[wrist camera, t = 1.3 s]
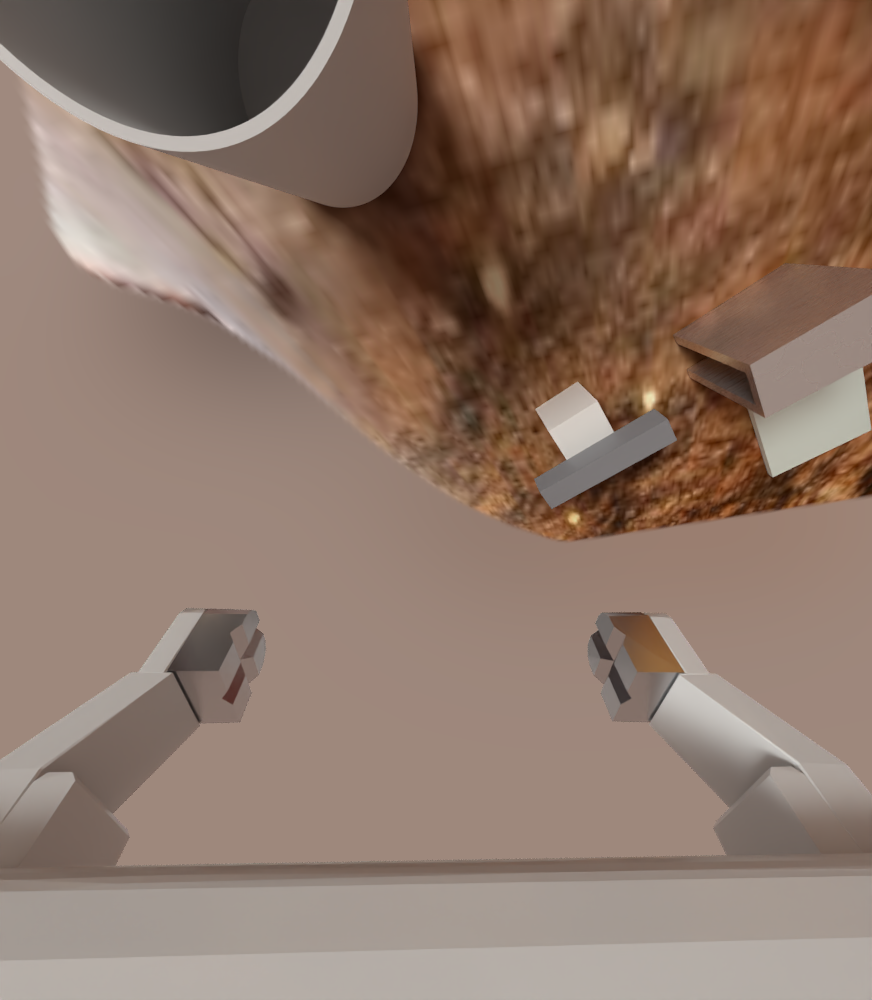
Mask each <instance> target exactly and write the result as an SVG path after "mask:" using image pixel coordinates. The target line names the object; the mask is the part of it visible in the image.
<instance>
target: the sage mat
mask: <svg viewBox="0 0 872 1000" xmlns="http://www.w3.org/2000/svg"><path fill="white" fill-rule="evenodd" d="M748 412H749V415H750V418H751V421H752V425H753V428H754V431H755V434H756V437H757V441H758V444H759V447H760V450H761V453H762V456H763V460H764V463H765V466H766V469H767V472H768V474H769V475H770V476H772V477H774V476H777V475H779V474H781V473H783V472H785V471H787V470H789V469H791V468H793V467H795V466H797V465H800V464H802V463H804V462H806V461H808V460H810V459H812V458H814V457H816V456H818V455H820V454H822V453H825V452H827V451H829V450H831V449H833V448H835V447H837V446H839V445H841V444H843V443H845V442H848V441H850V440H852V439H854V438H856V437H858V436H860V435H862V434H864V433H866V432H868V431H870V430H871V425H870V417H869V410H868V403H867V395H866V388H865V380H864V373H863V367H861V368H860V369H858V370H856V371H854V372H852V373H850V374H848V375H846V376H844V377H843V378H841V379H839V380H837V381H835V382H833V383H831V384H829V385H827V386H825V387H824V388H822V389H820V390H818V391H816V392H814V393H812V394H810V395H808V396H807V397H805V398H803V399H801V400H799V401H797V402H795V403H793V404H791V405H790V406H788V407H786V408H784V409H782V410H780V411H778V412H776V413H774V414H772V415H771V416H769V417H767V418H764V417H762V416H760V415H759V414H757V413H755V412H753V411H751V410H749V409H748Z"/></svg>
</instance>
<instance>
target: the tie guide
mask: <svg viewBox="0 0 872 1000" xmlns="http://www.w3.org/2000/svg"><path fill="white" fill-rule="evenodd" d="M674 338H675V340H676V343H677V344H679V345H681V346H684V347H686V348H688V349H691V350H693V351H696V352H698V353H700V354H703V355H705V356H707V358H705V359H704V360H702V361H700V362H699V363H697V364H696V365H694V366H692V367H691V368H689V369H687V372H688V374H689V377H690V378H691V379H693V380H695V381H697V382H699V383H701V384H703V385H704V386H706V387H708V388H710V389H712V390H714V391H716V392H717V393H719V394H721V395H723V396H725V397H727V398H729V399H731V400H732V401H734V402H736V403H738V404H740V405H742V406H744V407H745V408H747V409H749V410H751V411H753V412H755V413H757V414H759V415H760V416H762V417H764V418H767V417H769V416H771V415H772V414H774V413H776V412H778V411H780V410H782V409H784V408H786V407H788V406H790V405H791V404H793V403H795V402H797V401H799V400H801V399H803V398H805V397H807V396H808V395H810V394H812V393H814V392H816V391H818V390H820V389H822V388H824V387H825V386H827V385H829V384H831V383H833V382H835V381H837V380H839V379H841V378H843V377H844V376H846V375H848V374H850V373H852V372H854V371H856V370H858V369H860V368H861V367H863V366H865V365H867V364H869V363H871V362H872V269H864V268H849V267H833V266H818V265H803V264H788V263H785V264H783V265H782V266H780V267H779V268H777V269H776V270H774V271H773V272H771V273H769V274H768V275H766V276H765V277H763V278H762V279H760V280H758V281H757V282H755V283H754V284H752V285H751V286H749V287H747V288H746V289H744V290H743V291H741V292H740V293H738V294H737V295H735V296H733V297H732V298H730V299H729V300H727V301H726V302H724V303H722V304H721V305H719V306H718V307H716V308H715V309H713V310H711V311H710V312H708V313H707V314H705V315H704V316H702V317H701V318H699V319H697V320H696V321H694V322H693V323H691V324H690V325H688V326H686V327H685V328H683V329H682V330H680V331H679V332H677V333H676V334H674Z"/></svg>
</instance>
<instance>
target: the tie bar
mask: <svg viewBox="0 0 872 1000" xmlns="http://www.w3.org/2000/svg"><path fill="white" fill-rule="evenodd" d="M676 440H677V439H676V437H675V435H674V433H673V430H672V428H671V426H670V423H669V421H668V419H667V418H665V417H664V416H663V415H662V414H660V413H659V412H658V411H656V410H655V409H653V410H651V411H649V412H648V413H646V414H644V415H643V416H641V417H639V418H638V419H636V420H634V421H632V422H631V423H629V424H627V425H626V426H624V427H622V428H620V429H619V430H617V431H615V432H614V433H612V434H610V435H609V436H607V437H605V438H603V439H602V440H600V441H598V442H597V443H595V444H593V445H591V446H590V447H588V448H586V449H585V450H583V451H581V452H580V453H578V454H576V455H574V456H573V457H571V458H569V459H568V460H566V461H564V462H562V463H561V464H559V465H557V466H556V467H554V468H552V469H551V470H549V471H547V472H545V473H544V474H542V475H540V476H539V477H537V478H535V479H534V480H535V482H536V484H537V487H538V489H539V491H540V493H541V495H542V496H543V497H544V499H545V500H546V502H547V503H548V504H549V506H550V507H551V509H553V508H554V507H556V506H558V505H560V504H562V503H563V502H565V501H567V500H569V499H571V498H573V497H574V496H576V495H578V494H580V493H582V492H584V491H585V490H587V489H589V488H591V487H593V486H594V485H596V484H598V483H600V482H602V481H604V480H605V479H607V478H609V477H611V476H613V475H614V474H616V473H618V472H620V471H622V470H624V469H625V468H627V467H629V466H631V465H633V464H635V463H636V462H638V461H640V460H642V459H644V458H645V457H647V456H649V455H651V454H653V453H655V452H656V451H658V450H660V449H662V448H664V447H666V446H667V445H669V444H671V443H673V442H675V441H676Z"/></svg>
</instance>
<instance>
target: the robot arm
mask: <svg viewBox="0 0 872 1000" xmlns="http://www.w3.org/2000/svg"><path fill="white" fill-rule="evenodd" d="M258 623H259V618H258V615H257V612H256V611H254V610H234V609H197V608H196V609H194V608H186V609H185V610H183V611H182V612H180V613H179V614H178V616H177V617H176V619H175V620H174V622H173V623H172V625H171V626H170V627H169V629H168V630H167V632H166V633H165V635H164V636H163V637H162V639H161V641H160V642H159V643H158V645H157V646H156V647H155V649H154V651H153V652H152V653H151V655H150V656H149V658H148V659H147V661H146V662H145V663H144V665H143V666H142V668H141V669H140V671H139V672H131V673H129V674H128V675H126V676H125V677H124V678H122V679H120V680H119V681H117V682H116V683H115V684H113V685H111V686H110V687H108V688H107V689H105V690H104V691H102V692H101V693H100V694H98V695H96V696H95V697H93V698H92V699H90V700H89V701H87V702H86V703H84V704H83V705H81V706H80V707H78V708H77V709H76V710H74V711H73V712H71V713H70V714H68V715H67V716H65V717H64V718H62V719H61V720H59V721H58V722H56V723H55V724H54V725H52V726H50V727H49V728H47V729H46V730H44V731H43V732H41V733H40V734H38V735H37V736H35V737H34V738H32V739H31V740H29V741H28V742H26V743H25V744H23V745H22V746H20V747H19V748H17V749H16V750H14V751H13V752H11V753H10V754H8V755H7V756H5V757H4V758H2V759H1V760H0V1000H872V794H871V793H870V792H869V791H868V790H867V788H866V787H865V786H864V785H863V784H862V783H861V781H860V780H859V779H858V778H857V776H856V775H855V774H854V773H853V772H852V770H851V769H850V768H849V767H848V765H847V764H845V763H844V762H842V761H841V760H839V759H838V758H837V757H835V756H834V755H832V754H830V753H829V752H828V751H826V750H825V749H824V748H822V747H821V746H819V745H818V744H816V743H815V742H814V741H812V740H810V739H809V738H808V737H806V736H805V735H803V734H802V733H801V732H799V731H798V730H796V729H795V728H793V727H792V726H791V725H789V724H788V723H786V722H785V721H783V720H782V719H780V718H779V717H778V716H776V715H774V714H773V713H772V712H770V711H769V710H768V709H766V708H765V707H763V706H762V705H760V704H759V703H758V702H756V701H755V700H753V699H752V698H750V697H749V696H747V695H746V694H745V693H743V692H742V691H740V690H739V689H737V688H736V687H735V686H733V685H731V684H730V683H729V682H727V681H726V680H724V679H723V678H722V677H720V676H719V675H717V674H710V673H709V672H708V670H707V669H706V668H705V666H704V665H703V663H702V662H701V660H700V659H699V657H698V656H697V655H696V653H695V652H694V650H693V649H692V647H691V646H690V644H689V643H688V642H687V640H686V639H685V637H684V636H683V634H682V633H681V631H680V630H679V628H678V627H677V625H676V624H675V623H674V621H673V620H672V618H671V617H670V616H669V615H667V614H666V613H641V612H640V613H638V612H637V613H601V614H600V615H599V616H598V618H597V621H596V625H597V628H598V631H597V632H595V633H594V634H592V635H591V637H590V640H589V643H588V659H589V663H590V667H591V669H592V672H593V675H594V676H595V677H596V678H597V679H598V680H600V681H601V682H602V683H603V684H604V685H603V689H602V691H601V695H602V697H603V699H604V702H605V704H606V707H607V709H608V712H609V714H610V716H611V719H612V721H621V722H650V723H649V725H650V726H651V727H652V728H653V729H654V730H655V731H656V732H657V733H658V734H659V735H660V736H661V737H662V738H663V739H664V740H665V741H666V742H667V743H668V744H669V745H670V747H672V749H674V751H675V752H676V753H677V754H678V755H679V756H680V757H681V758H682V759H683V760H684V761H685V762H686V763H687V764H688V765H689V766H690V767H691V768H692V769H693V770H694V771H695V772H696V773H697V774H698V776H699V777H700V778H701V779H702V780H703V781H704V782H705V783H706V784H707V785H708V786H709V787H710V788H711V789H712V790H713V791H714V792H715V793H716V794H717V795H718V796H719V797H720V798H721V799H722V800H723V801H724V803H725V804H726V805H727V806H728V807H729V809H728V810H727V811H726V812H725V813H724V814H723V815H722V816H721V817H720V818H719V819H718V820H717V821H716V823H715V826H714V831H715V833H716V835H717V837H718V839H719V841H720V843H721V845H722V847H723V849H724V851H725V853H726V855H725V856H724V855H721V856H720V855H718V856H663V857H662V856H661V857H607V858H606V857H605V858H604V857H602V858H544V859H489V860H488V859H486V860H430V861H429V860H428V861H369V862H315V863H314V862H312V863H310V862H309V863H253V864H198V865H197V864H196V865H195V864H194V865H142V866H141V865H138V866H116V863H117V862H118V859H119V857H120V855H121V853H122V851H123V849H124V847H125V845H126V843H127V841H128V839H129V833H128V830H127V828H126V827H125V826H124V825H123V824H122V823H121V822H120V821H119V820H118V819H117V818H116V817H115V816H114V815H113V813H114V812H115V811H116V810H117V809H118V808H119V807H120V806H121V805H122V804H123V803H124V802H125V801H126V800H127V799H128V798H129V797H130V796H131V795H132V794H133V793H134V792H135V791H136V790H137V789H138V788H139V787H140V786H141V785H142V784H143V783H144V782H145V781H146V780H147V779H148V778H149V777H150V776H151V775H152V774H153V773H154V772H155V771H156V770H157V769H158V768H159V767H160V766H161V765H162V764H163V763H164V762H165V760H166V759H168V757H170V755H172V754H173V752H175V751H176V749H177V748H178V747H179V746H180V745H181V744H182V743H183V742H184V741H185V740H186V739H187V738H188V737H189V736H190V735H191V734H192V733H193V732H194V731H195V730H196V729H197V728H198V727H199V726H200V725H199V723H230V722H240V721H241V718H242V716H243V713H244V711H245V708H246V706H247V703H248V701H249V698H250V696H251V690H250V687H249V683H250V682H251V681H252V680H253V679H255V678H256V677H257V676H258V675H259V673H260V671H261V668H262V665H263V662H264V656H265V650H266V646H265V638H264V634H263V633H262V632H261V631H259V630H258V629H257V628H256V627H257V625H258Z"/></svg>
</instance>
